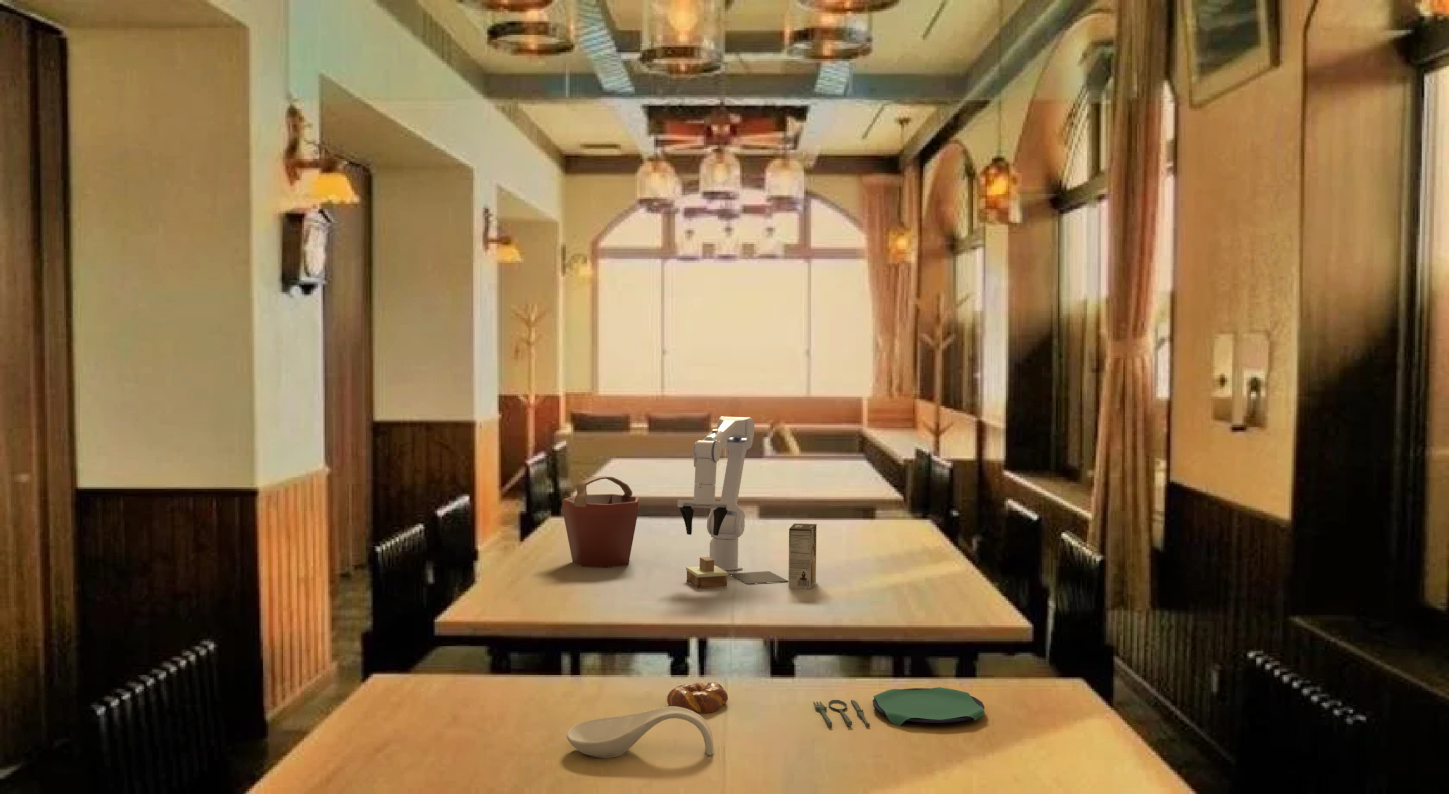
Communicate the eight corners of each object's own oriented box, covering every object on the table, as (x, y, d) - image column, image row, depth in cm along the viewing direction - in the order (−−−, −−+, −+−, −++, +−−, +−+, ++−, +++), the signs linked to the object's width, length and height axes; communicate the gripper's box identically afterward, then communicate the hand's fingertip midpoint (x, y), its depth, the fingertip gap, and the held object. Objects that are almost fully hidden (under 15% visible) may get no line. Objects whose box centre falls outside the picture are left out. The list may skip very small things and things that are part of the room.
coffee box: (792, 581, 332) (793, 522, 331) (816, 582, 331) (817, 523, 330) (787, 588, 323) (788, 528, 322) (811, 589, 322) (812, 529, 321)
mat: (729, 574, 340) (729, 573, 340) (769, 572, 344) (769, 571, 344) (746, 584, 327) (746, 583, 327) (788, 582, 331) (788, 581, 331)
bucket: (587, 573, 341) (587, 483, 339) (544, 561, 357) (544, 476, 356) (656, 562, 357) (657, 477, 355) (612, 552, 373) (612, 470, 372)
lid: (685, 569, 331) (686, 556, 331) (715, 568, 334) (715, 554, 334) (697, 577, 321) (698, 563, 321) (727, 575, 324) (728, 561, 324)
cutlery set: (999, 729, 210) (999, 716, 210) (826, 735, 208) (826, 722, 208) (966, 696, 230) (966, 684, 230) (808, 701, 228) (808, 689, 227)
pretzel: (696, 692, 230) (696, 673, 230) (742, 704, 223) (742, 684, 223) (653, 707, 221) (653, 687, 221) (699, 720, 214) (699, 699, 214)
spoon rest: (563, 765, 191) (563, 720, 191) (569, 740, 203) (570, 697, 202) (714, 765, 192) (715, 720, 191) (712, 740, 204) (712, 697, 203)
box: (686, 581, 331) (686, 570, 331) (714, 579, 334) (714, 568, 334) (698, 588, 322) (698, 577, 322) (726, 586, 324) (726, 575, 324)
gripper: (684, 483, 325) (681, 535, 324) (735, 486, 330) (732, 536, 329) (676, 483, 332) (673, 533, 331) (726, 485, 337) (723, 534, 336)
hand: (702, 535), depth 331 cm, fingers open, 7 cm apart
